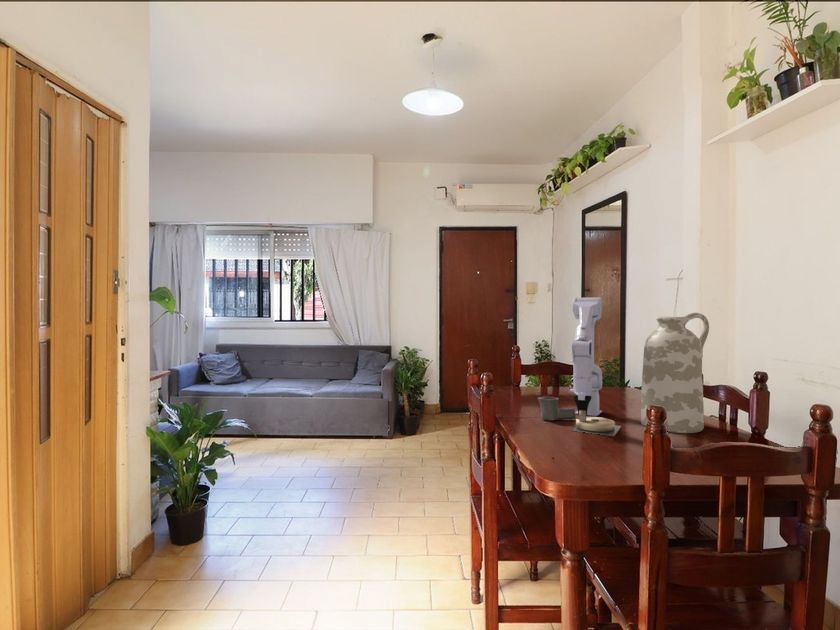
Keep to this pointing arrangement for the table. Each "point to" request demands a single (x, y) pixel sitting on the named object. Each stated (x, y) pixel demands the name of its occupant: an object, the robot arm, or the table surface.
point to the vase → (675, 373)
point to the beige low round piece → (594, 423)
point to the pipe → (554, 409)
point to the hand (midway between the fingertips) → (582, 417)
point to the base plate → (607, 433)
